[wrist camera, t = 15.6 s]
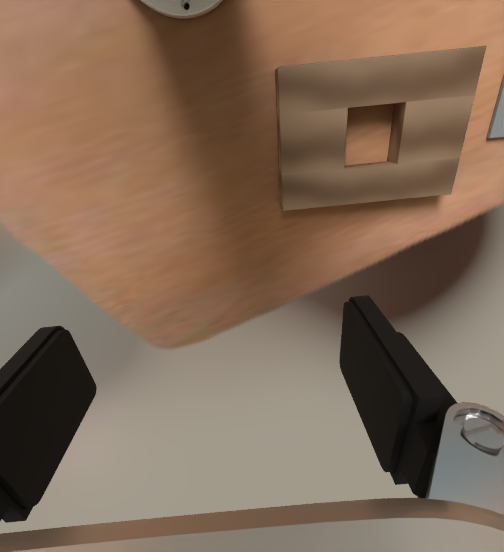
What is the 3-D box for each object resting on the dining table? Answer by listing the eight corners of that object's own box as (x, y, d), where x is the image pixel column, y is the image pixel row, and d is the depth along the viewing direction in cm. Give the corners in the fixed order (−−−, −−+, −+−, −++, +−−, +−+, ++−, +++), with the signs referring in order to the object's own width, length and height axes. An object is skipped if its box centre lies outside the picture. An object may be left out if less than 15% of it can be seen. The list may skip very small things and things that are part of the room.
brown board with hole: (274, 71, 30) (278, 66, 27) (467, 51, 30) (486, 45, 27) (280, 205, 36) (283, 210, 34) (438, 189, 36) (451, 194, 34)
